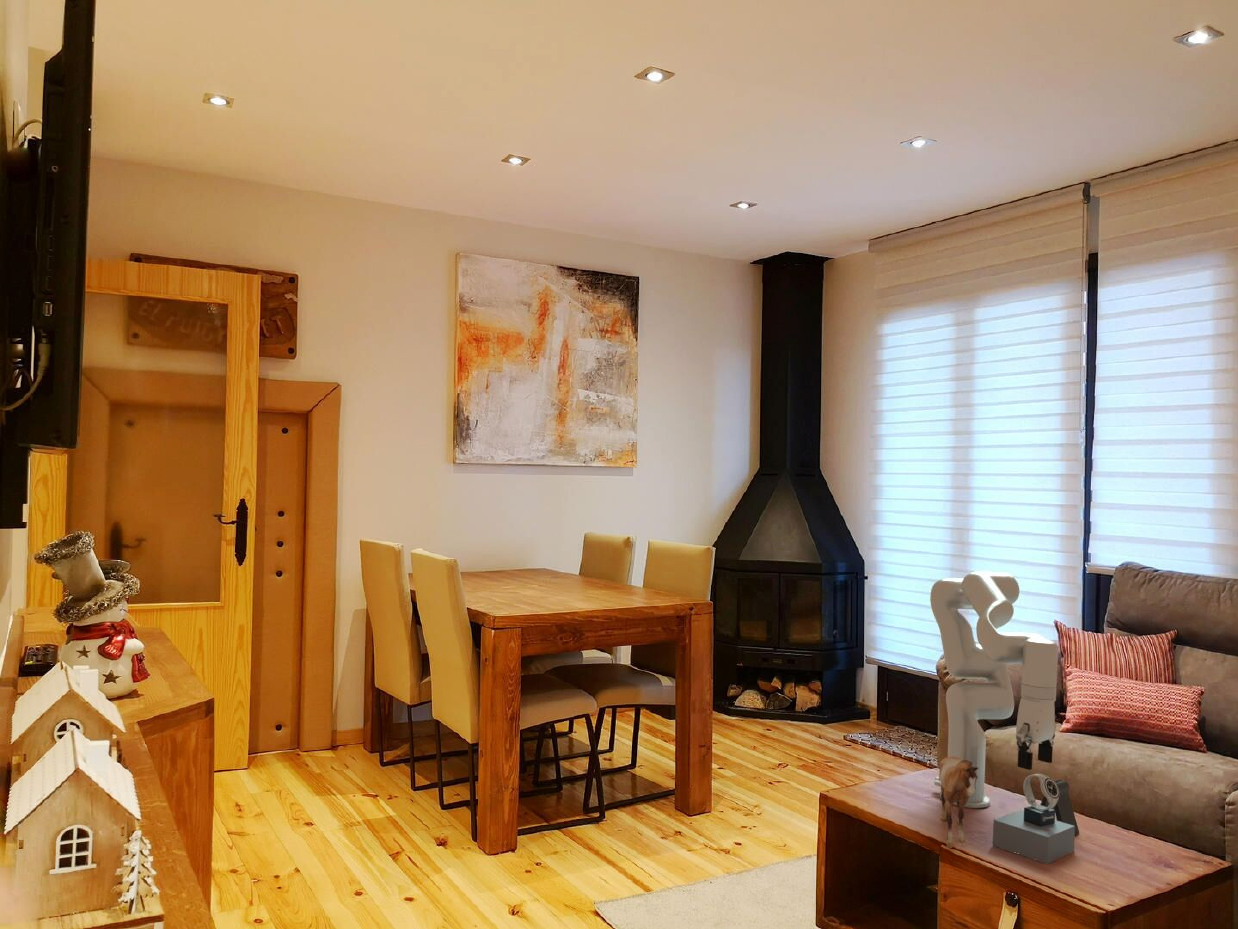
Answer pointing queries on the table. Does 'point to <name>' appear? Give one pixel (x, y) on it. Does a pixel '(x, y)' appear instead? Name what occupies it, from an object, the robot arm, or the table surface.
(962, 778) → the horse figurine
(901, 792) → the table surface
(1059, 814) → the phone stand
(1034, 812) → the watch
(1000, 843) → the base block
